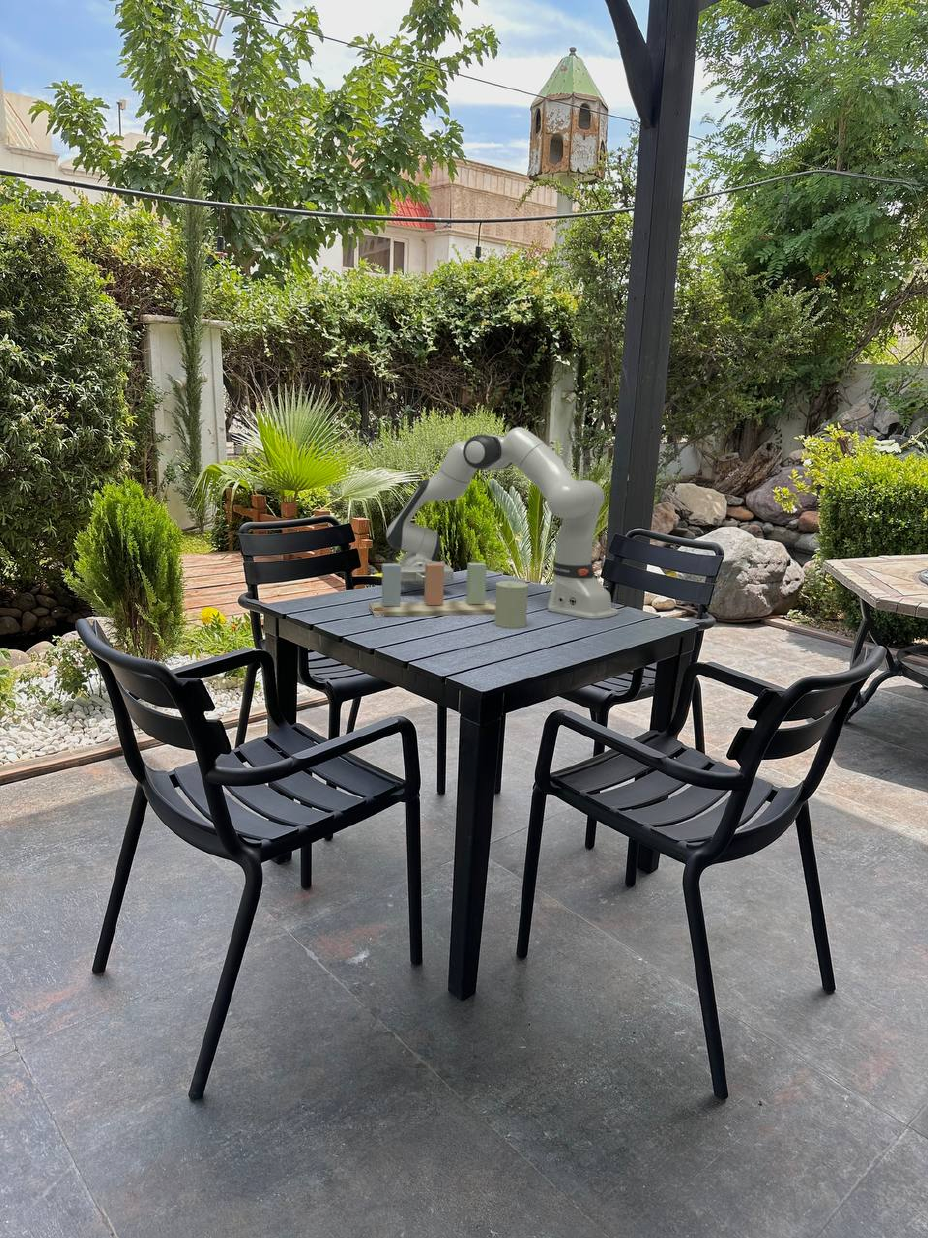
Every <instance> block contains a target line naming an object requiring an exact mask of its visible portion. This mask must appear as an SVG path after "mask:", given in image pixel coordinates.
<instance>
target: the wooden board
mask: <svg viewBox="0 0 928 1238" xmlns="http://www.w3.org/2000/svg"><path fill="white" fill-rule="evenodd" d="M495 603H496V602H494V601H493V600H492V599H488V600H487V599H485V604H468V603H467V602H466V600H448V601H447V600H443V605H426V604H425V602H424V601H401V602H400V606H383V604H382V602H369V606H370V608H371V610H372V612H373V614H374V616H377V615H381V616H383V615H384V616H408V617H435V616H436V617H437V616H438V617H443V616H444V617H445V616H446V617H447V616H476V615H477V616H480V615H495ZM370 608H369V609H370ZM371 610H370V611H371ZM372 612H371V613H372ZM373 614H372V615H373ZM374 616H373V617H374Z"/></svg>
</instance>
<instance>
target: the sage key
mask: <svg viewBox="0 0 928 1238" xmlns="http://www.w3.org/2000/svg"><path fill="white" fill-rule="evenodd" d="M466 566H467V567H466V593H465V595H466V597H465V599H466V600H465V601H466V602H467V603H468V604H485V600H486V594H487V593H486V592H487V566H488V565H487V564H486V563H485V562H467V565H466Z"/></svg>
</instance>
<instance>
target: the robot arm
mask: <svg viewBox="0 0 928 1238" xmlns="http://www.w3.org/2000/svg"><path fill="white" fill-rule="evenodd" d="M512 465H514V466H515V467H516V468H517V469H518V470H519V471H520V472H521V473H523V475H524V476H525V477H526V478H527V479H528V480H530V482H531V483H532V484H533V485H534V486H535V487H536V488H537V489H538V490H539V492H541V493H540V494H541V495H542V496H543V497H544V499H545V501H546V502H547V506H548V509H549V511H550V513H551V514H552V515H553V516H555V517H557V518H560V519H562V521H561V522H562V523H561V526H560V528H559V531H558V533H557V534H556V539H555V555H554V556H555V557H554V561H553V565H552V574H553V580H552V586H551V590H550V595H549V597H548V598H549V599H548V602H547V604H546V606H547V611H549V612H553V613H558V614H563V615H568V616H573V617H578V618H584V619H589V620H590V619H591V620H592V619H593V620H596V619H605V618H609V617H614V616H616V615H618V614H619V610H618V609H616V608H614V607H612V600H611V594H610V592H609V591H608V590H607V589H606V588H605V587H604V585H602V583H601V582H600V581H599V579H597V577H595V576H596V574H595V573H596V572H598V569H599V568H598V567H594V566H593V563H592V556H593V554H592V553H593V542H594V535H595V532H596V528H597V524H598V520H599V515H600V511H601V508H602V507H603V505H604V502H605V497H606V496H605V492H604V489H603V487H601V486H600V484H598V483H597V482H595V481H592V480H589V479H588V480H587V479H584V480H583V479H582V480H578V479H576V478H574V477H573V476H572V475H571V474H570V472H569V471H568V469H567V468H566V466H565V462H564V461H563V459H562V458H561V457H560V456H559V455H558V454H556V453H555V452H554V450H552V449H551V448H550V447H549V446H548V445H547V444H546V443H545V442H544V441H543V440H541V439H540V438H539V436H536V435H535V434H534V433H532V432H531V431H529V430H527V429H526V428H524V427H521V426H517V427H513V428H512V429H510V430H509V431H508V432H507V433H506V434H505V435H497V434H488V433H487V434H477V435H474V436H472V437H470V438H469V439H468V440H467V441H457V442H455V443H454V444H453V445H452V446H451V447H450V448H449V450H448V452H447V454H446V455H445V457H444V458H443V460H442V462H441V464H440V466H439V468H438V470H437V472H436V473H435V474H434V475H433V476H431V477H430V478H426V479H423V480H422V481H421V482H420V483H419V485H417V487H415V489H414V491H413V493H411V495H410V497H409V498H408V499H407V502H406V503H405V504H404V506H403V507H402V508H401V510H400V511H399V512H398V515H397V516H395V518H394V519H393V520H392V522H391V523H390V524H389V525H388V527H387V530H386V535H385V539H386V541H387V543H388V544H389V545H390V547H391V548H393V549H395V550H396V549H397V550H402V551H404V552H406V553H404V554H403V555H402V557H401V560H400V565H401V582H403V583H404V582H410V583H412V584H414V585H419V586H420V585H425V563H442V564H443V565H444V582H452V581H454V569H453V568H452V567H451V566H449V564H446V563H445V561H444V560H437V558H438V556H439V553H440V551H441V546H442V542H441V539H440V535H439V533H438V532H437V531H435V530H432V529H430V528H426V527H425V526H424V527H423V526H421V525H418V524H415V523H413V522H411V521H412V519H413V517H414V516H415V515H416V514H417V512H418V510H420V508H421V507H422V506H423V504H424V505H425V503H428V502H433V501H434V502H435V501H436V502H437V501H439V502H443V501H444V502H448V501H455V500H457V499H459V498H461V497H462V496H463V495H464V494H465V492H466V491H467V490H468V487H469V486H470V483H471V481H472V479H473V477H474V475H475V473H476V472H477V471H478V470H485V471H498V470H505V469H507V468H510V467H511V466H512Z"/></svg>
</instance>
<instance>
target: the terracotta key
mask: <svg viewBox="0 0 928 1238" xmlns="http://www.w3.org/2000/svg"><path fill="white" fill-rule="evenodd" d="M444 587H445V581H444V565H443V564H442V563H425V583H424V601H423V602H425V604H426V605H443V601H444V591H445V590H444Z"/></svg>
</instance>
